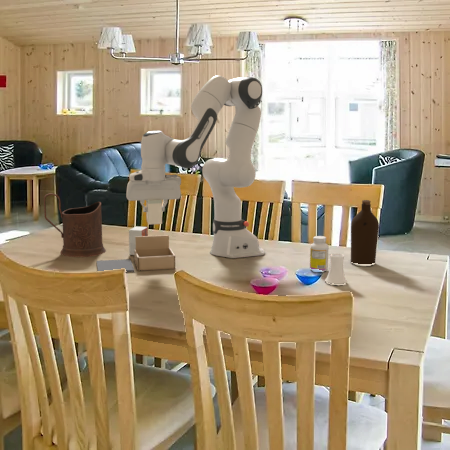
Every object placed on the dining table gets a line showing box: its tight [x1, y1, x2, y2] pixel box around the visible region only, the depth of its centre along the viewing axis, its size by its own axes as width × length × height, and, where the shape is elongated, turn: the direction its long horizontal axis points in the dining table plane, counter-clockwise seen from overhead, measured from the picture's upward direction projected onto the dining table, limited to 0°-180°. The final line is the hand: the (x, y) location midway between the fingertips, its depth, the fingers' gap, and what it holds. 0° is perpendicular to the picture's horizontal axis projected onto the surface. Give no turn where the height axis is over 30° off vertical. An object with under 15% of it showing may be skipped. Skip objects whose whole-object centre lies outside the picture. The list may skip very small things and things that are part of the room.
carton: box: [134, 235, 176, 272], centre depth 232 cm, size 14×13×10 cm
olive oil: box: [350, 199, 380, 264], centre depth 236 cm, size 11×11×25 cm
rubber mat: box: [96, 258, 135, 273], centre depth 229 cm, size 13×16×1 cm
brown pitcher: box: [43, 193, 107, 258], centre depth 249 cm, size 18×24×25 cm
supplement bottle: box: [309, 235, 329, 272], centre depth 226 cm, size 7×7×13 cm
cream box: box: [145, 199, 163, 225], centre depth 229 cm, size 5×7×9 cm
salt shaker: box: [324, 253, 348, 284], centre depth 211 cm, size 8×8×10 cm
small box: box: [128, 226, 149, 256], centre depth 250 cm, size 8×6×10 cm
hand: (154, 211), depth 229 cm, fingers closed on cream box, 5 cm apart
